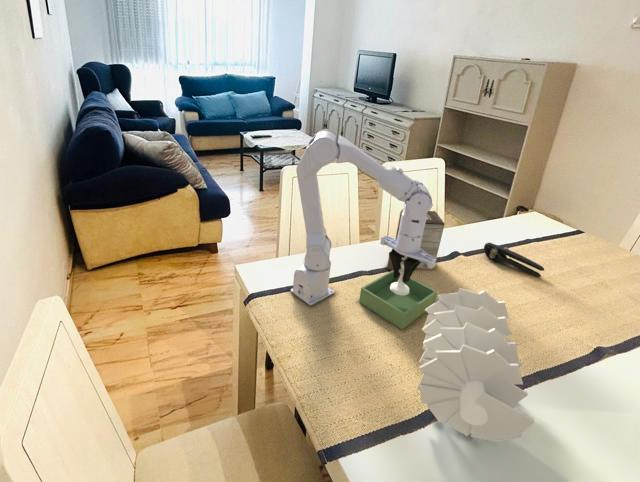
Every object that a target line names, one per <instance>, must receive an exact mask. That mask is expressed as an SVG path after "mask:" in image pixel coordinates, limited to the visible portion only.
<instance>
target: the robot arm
mask: <svg viewBox="0 0 640 482" xmlns="http://www.w3.org/2000/svg"><path fill="white" fill-rule="evenodd" d="M335 160H336V164H343V163H350V164H352V165H354V166H355V167H357V168H359V169H360V170H362V171H363V172H365V173H367V174H368V175H369V176H371V177H373V178H374V179H376V183H377V186H378V187H379V188H381V189H382V190H383V191H384V192H386V193H388V194H389V195H391V196H392V197H394V198H395V199H396V200H398V201H399V202H403V203H404V204H403V208H402V209H403V212H402V216H401V221H400V227H399V232H398V237H397V239H395V237H390V236H388V235H383V236H382V237H381V238H380V244H381V246H387V247H389V248H390V249H391V250H390V251H389V252H388V258H389V257H390V259H391V262H392V265H393V271H394V277H395V278H397V277H399V276H400V274H401V273H400V272H399V269H401V264H400V262H402V261H404V274H403V282H404V283H406V282H408V281H409V279H410V277H411V278H412V276H413V273H414V272H415V270H416V269H418V268H417V266H418V265H419V264H420V263H421V262H422V263H424V264H426V265H427V267H429V268H432V267H434V268H435V266H436V263H437V258H436V259H435V258H433V257H431V256H430V255H429V254H427V253H426V252H425V251H423V250H422V249H421V248H420V246H421V241H422V237H423V232H424V227H425V223H426V216H427V212H428V211H431V209H433V206H434V204H433V197H432V195H431V194H430V191H429V190H428V188H427V187H426V186H425V185H424V183H423V182H420V181H419V180H417V179H415V180H413V179H412V178H411V177H410V176H408V175H406V174H405V173H404V170H403V169H402V168H401V167H400V166H398V167H397V168H396V167H394V166H393V165H392V166H384V165H383V164H382V163H379V162H378V161H377V160H375V159H374V158H373V157H372V156H370V154H368V153H366V152H365V151H364V150H362V149H361V148H359V147H358V146H357V145H356V144H354V143H353V142H351V141H350V140H349V139H347V138H345V137H344V136H342V135H340V134H339V135H338V134H337V133H336V131H334V130H331V129H326V128H325V129H321V130H319V131H318V132H317V133H315V134H314V136H313V137H312V138H311V139H310V140H309V142H308V144H307V145H306V147H305V149H304V152H303V154H302V156H301V158H300V159H299V162H298V163H297V165H296V168H295V169H296V177H297V183H298V191H299V196H300V197H299V198H300V203H301V210H302V215H303V216H302V217H303V223H304V228H305V235H306V236H305V238H306V239H305V243H306V244H305V248H306V252H305V256H304V259H303V263H302V264H301V266H300V267H299V268H297V269H296V270H295V271H294V273H293V283H292V288H291V289H290V292H291V293H292V294H294V295H295V296H296V297H298V298H299V299H300V300H302V301H303V302H304V303H306V304H307V305H309V306H313V305H315V304H317V303H318V302H320V301H322V300H324V299H326V298H328V297H330V296H331V295H333V294H335V290H334V289H332V288H331V287H329V283H330V276H331V275H330V274H331V266H332V262H331V260H330V254H331V249H332V240H331V238H329V236H328V234H327V229H326V228H325V224H324V216H323V208H322V201H321V194H320V188H319V179H318V172H319V171H320V170H321V169H322V168H324V167H325V166H328V165H329V164H332V163H333V162H334V161H335ZM380 244H379V245H380ZM405 256H407V257H409V258H407V259H406V260H402V257H403V258H405Z"/></svg>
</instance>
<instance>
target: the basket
mask: <svg viewBox="0 0 640 482" xmlns="http://www.w3.org/2000/svg"><path fill="white" fill-rule="evenodd" d="M399 277H400V276H399ZM399 277H397V278H395V277H394V271H393V270H389V272H387V273H385V274H383V275H382V276H379V277H377V278H376V279H374V280H372V281H371V282H369V283H367V284H366V285H363V286H362V287H360V293H359V300H358V302H359V303H360V304H361V305H362V306H365V307H366V308H368V309H369V310H371V311H373V312H374V313H375V314H377V315H378V316H380V317H382V318H383V319H385V320H386V321H388V323H391V324H392V325H394V326H395V327H397V328H399V329H400V330H404V329H405V328H406V327H408V326H409V325H410V324H411V323H413V322H414V321H415V320H417V319H418V318H419V317H421V316H423V315H424V314H425V313H427V312H426V311H425V309H426V308H427V307H429V306H430V305H432V304H434V303H435V302H436V300H437V297H438V291H437V290H435V289H433V288H432V287H429V286H427V285H426V284H424V283H422V282H420V281H418V280H416V279H414V278H412V276H411V277H410V279H409V281H408V282H406V283H404V284H406V285H407V286H408V287H409V294H407V295H398V294H395V293H393V292H392V291H391V290H390V286H391V284H392V283H394V282H398V280H399Z"/></svg>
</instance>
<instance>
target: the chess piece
mask: <svg viewBox="0 0 640 482" xmlns="http://www.w3.org/2000/svg"><path fill="white" fill-rule="evenodd" d="M406 259H407V256H405V258H403V257H402V260H406ZM400 264H401V269H399V272H400V273H401V274H400V277H399V280H398V282H394V283H392V284H391V286H390V290H391V291H392V292H393V293H395V294H398V295H407V294H409V287H408V286H407V285H406V284H404V282H403V274H404V261H402V262H400Z"/></svg>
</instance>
